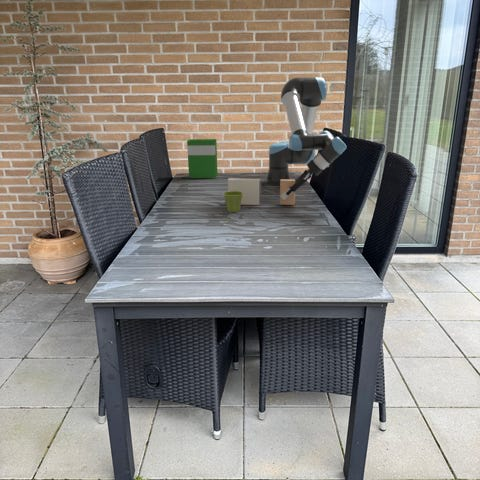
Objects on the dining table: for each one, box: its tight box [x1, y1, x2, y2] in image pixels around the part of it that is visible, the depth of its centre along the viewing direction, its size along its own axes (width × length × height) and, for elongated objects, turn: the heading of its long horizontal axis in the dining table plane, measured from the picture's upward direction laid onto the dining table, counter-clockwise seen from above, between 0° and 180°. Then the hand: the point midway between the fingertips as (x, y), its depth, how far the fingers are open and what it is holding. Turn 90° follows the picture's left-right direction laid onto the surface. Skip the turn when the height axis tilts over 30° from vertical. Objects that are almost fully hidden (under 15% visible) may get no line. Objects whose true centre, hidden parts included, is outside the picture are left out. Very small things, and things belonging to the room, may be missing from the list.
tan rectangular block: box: [279, 178, 296, 206], centre depth 220 cm, size 3×7×12 cm, turn 80°
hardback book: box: [186, 138, 219, 179], centre depth 288 cm, size 18×7×24 cm, turn 86°
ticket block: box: [227, 177, 262, 206], centre depth 224 cm, size 3×16×12 cm, turn 80°
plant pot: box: [222, 191, 243, 213], centre depth 212 cm, size 9×9×9 cm
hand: (282, 197), depth 222 cm, fingers closed on tan rectangular block, 3 cm apart
